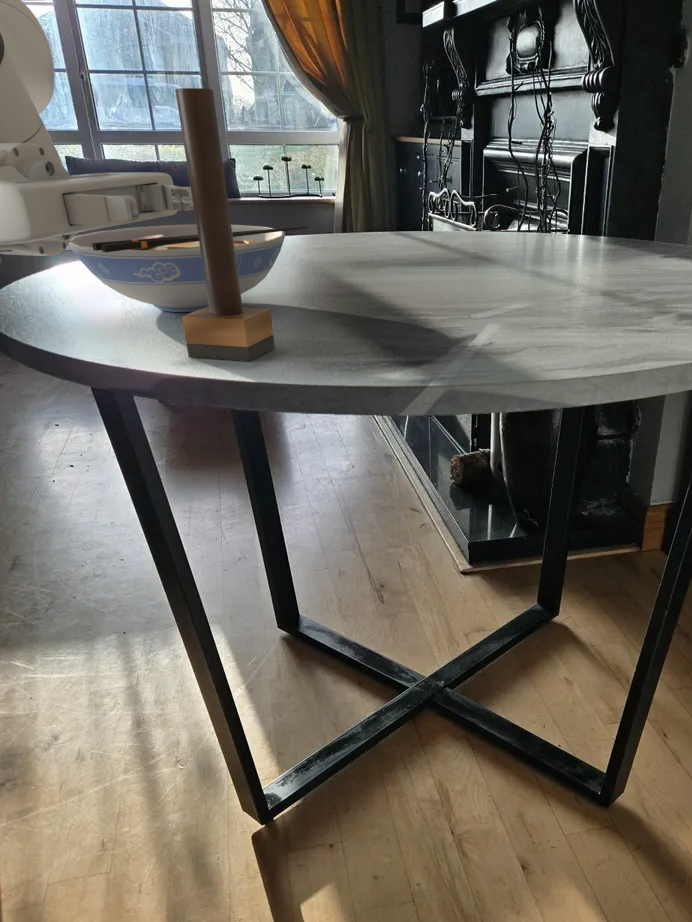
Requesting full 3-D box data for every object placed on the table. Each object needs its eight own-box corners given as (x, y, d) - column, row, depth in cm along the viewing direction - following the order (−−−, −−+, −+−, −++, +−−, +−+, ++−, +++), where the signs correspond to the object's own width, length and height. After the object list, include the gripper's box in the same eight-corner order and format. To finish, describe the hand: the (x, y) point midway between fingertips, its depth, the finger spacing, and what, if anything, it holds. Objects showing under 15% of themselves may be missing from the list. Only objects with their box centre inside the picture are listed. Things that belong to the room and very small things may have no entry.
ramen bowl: (228, 280, 103) (218, 212, 99) (341, 303, 90) (335, 225, 85) (38, 309, 87) (16, 229, 83) (141, 341, 74) (121, 248, 70)
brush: (188, 357, 69) (140, 88, 59) (216, 344, 73) (176, 90, 63) (249, 361, 68) (212, 87, 57) (275, 347, 72) (244, 89, 61)
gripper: (105, 227, 79) (230, 230, 76) (-52, 255, 62) (100, 261, 59) (90, 155, 75) (219, 156, 72) (-81, 165, 58) (79, 166, 55)
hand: (165, 203), depth 65 cm, fingers open, 8 cm apart
